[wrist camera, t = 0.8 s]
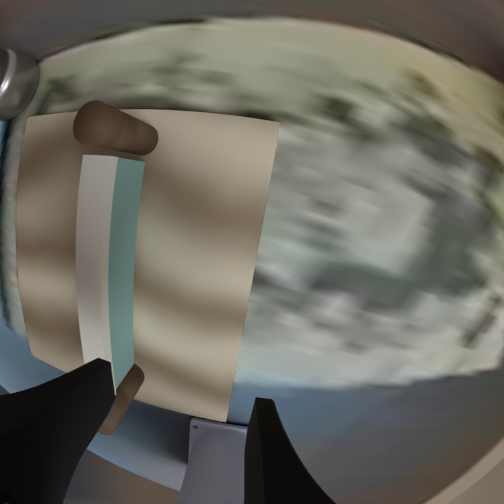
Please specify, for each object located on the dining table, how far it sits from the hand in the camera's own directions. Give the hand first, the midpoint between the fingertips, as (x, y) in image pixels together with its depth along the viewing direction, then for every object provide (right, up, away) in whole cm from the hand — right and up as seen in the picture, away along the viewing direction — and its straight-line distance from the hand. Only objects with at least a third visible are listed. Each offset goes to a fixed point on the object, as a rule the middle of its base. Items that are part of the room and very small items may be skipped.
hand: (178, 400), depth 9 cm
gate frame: (-7, +4, +9) cm, 12 cm away
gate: (-5, +4, +7) cm, 10 cm away
